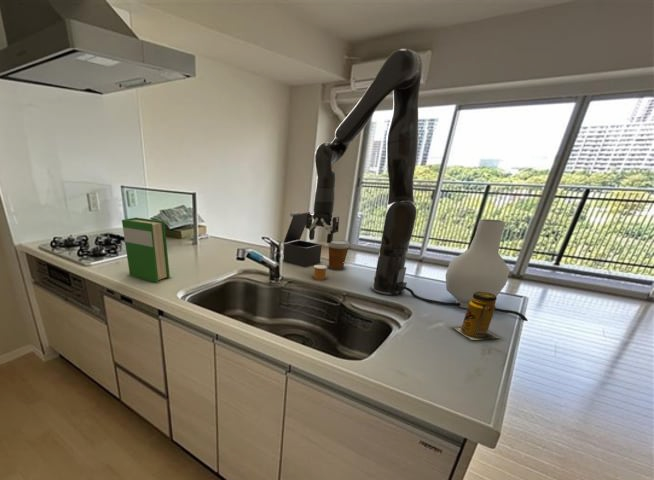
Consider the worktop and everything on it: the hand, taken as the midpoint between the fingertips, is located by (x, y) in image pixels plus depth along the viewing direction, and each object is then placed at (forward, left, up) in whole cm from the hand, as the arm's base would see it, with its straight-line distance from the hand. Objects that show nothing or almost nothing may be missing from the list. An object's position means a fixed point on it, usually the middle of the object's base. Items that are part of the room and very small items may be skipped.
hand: (320, 241), depth 139 cm
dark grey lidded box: (+19, -13, -15) cm, 27 cm away
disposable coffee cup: (+2, -17, -15) cm, 22 cm away
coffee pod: (-2, +1, -15) cm, 15 cm away
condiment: (-62, +9, -15) cm, 65 cm away
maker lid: (+22, -13, +1) cm, 26 cm away
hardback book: (+49, +54, -15) cm, 74 cm away
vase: (-53, -12, -15) cm, 57 cm away
